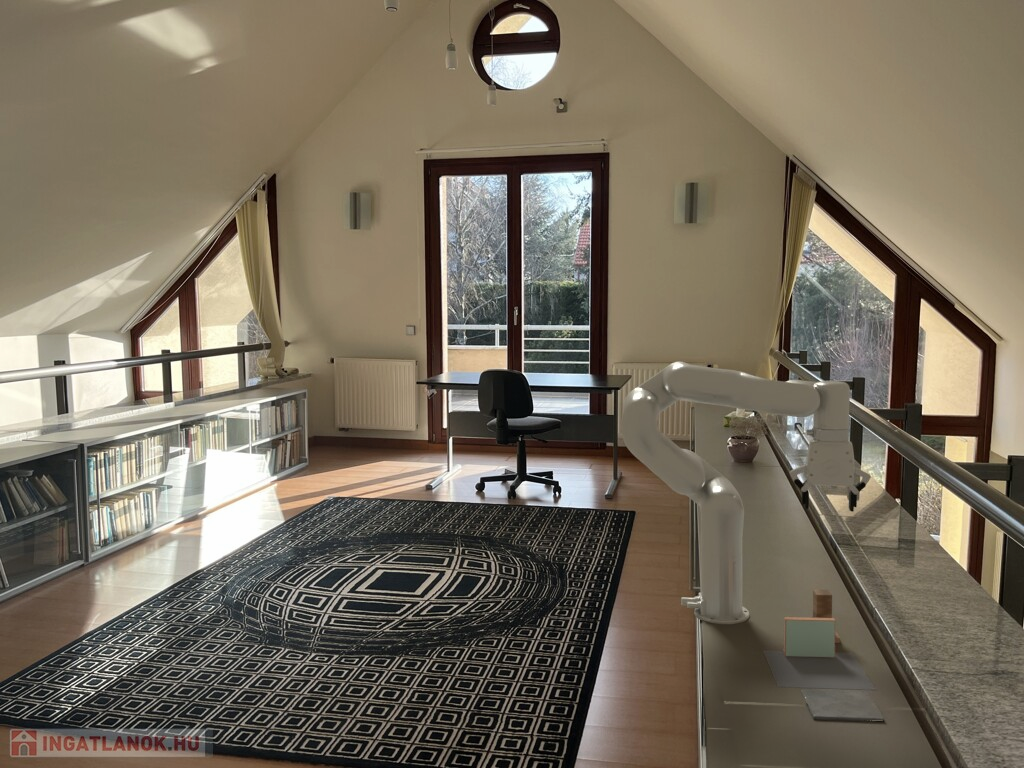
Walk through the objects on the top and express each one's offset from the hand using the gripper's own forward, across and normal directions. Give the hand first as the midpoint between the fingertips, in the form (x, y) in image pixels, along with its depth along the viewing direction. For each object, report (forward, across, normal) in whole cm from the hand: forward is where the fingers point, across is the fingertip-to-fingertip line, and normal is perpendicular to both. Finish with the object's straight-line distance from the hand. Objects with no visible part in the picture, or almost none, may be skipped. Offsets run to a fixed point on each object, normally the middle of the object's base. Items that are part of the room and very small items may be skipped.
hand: (828, 508), depth 185 cm
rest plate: (+26, -1, -43) cm, 50 cm away
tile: (+26, -5, -23) cm, 35 cm away
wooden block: (+26, -2, -12) cm, 29 cm away
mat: (+26, -4, -29) cm, 39 cm away
